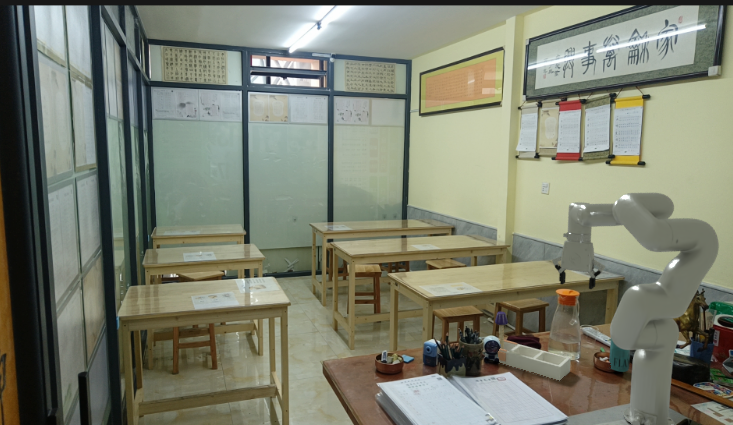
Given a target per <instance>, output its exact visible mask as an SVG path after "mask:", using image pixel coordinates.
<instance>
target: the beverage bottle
mask: <svg viewBox="0 0 733 425" xmlns="http://www.w3.org/2000/svg"><path fill="white" fill-rule="evenodd" d="M608 356H609V360H608V361H609V362H610V363H611V364H610V365H611V368H610V369H611V370H613V371H616V372H621V373H624V372H628V371H629V369H630V364H631V360H630V359H631V350H624V349H621V348H619V347H618V346H616V345H615V344H614V342H613V341H612V338H611V337H610V348H609V355H608ZM609 362H608V363H609Z"/></svg>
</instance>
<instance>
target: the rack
mask: <svg viewBox="0 0 733 425" xmlns="http://www.w3.org/2000/svg"><path fill="white" fill-rule="evenodd" d="M498 357H499V362H500V363H503V364H502V365H504V364H506V365H505V366H507V365H509V366H508V367H510V366H512V367H511V368H514V367H516V368H515V369H517V368H520V369H519V370H521V369H523V370H522V371H524V370H526V371H525V372H527V371H529V372H528V373H531V372H534V373H537V374H540V375H539V376H541V375H543V376H542V377H544V376H546V377H545V378H547V377H549V378H548V379H551V378H553V379H552V380H554V379H556V380H555V381H557V380H559V381H558V382H561V381H562V380H563V379H564V378H565V377H566V376H567V375H568V374H569V373H570V372H571V361H572V360H571V357H568V356H565V355H561V354H556V353H553V352H549V351H545V350H541V349H538V348H535V347H530V346H527V345H522V344H519V343H517V342H514V341H510V340H507V339H504V349H501V348H500V349H499V351H498ZM500 363H499V364H500ZM534 373H533V374H534ZM537 374H536V375H537ZM564 376H565V377H564ZM563 377H564V378H563ZM562 378H563V379H562ZM561 379H562V380H561ZM560 380H561V381H560Z"/></svg>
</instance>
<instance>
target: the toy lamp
mask: <svg viewBox="0 0 733 425" xmlns="http://www.w3.org/2000/svg"><path fill="white" fill-rule="evenodd" d="M494 323H495V324H496V325H498V327H499V328H498V334H499V336H498V339H499V341H500V344H501V349H504V340H505V336H504V335H505V332H504V331H505V326H506V325H508V324H509V321H508V316H507V313H506V312H504V311H498V312H497V313H496V316H495V320H494Z"/></svg>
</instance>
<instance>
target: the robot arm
mask: <svg viewBox="0 0 733 425" xmlns="http://www.w3.org/2000/svg"><path fill="white" fill-rule="evenodd" d="M674 211H675V205H674V202H673V200H672V199H671V198H670V197H669V196H668V195H665V194H663V193H661V192H629V193H625V194H623V195H622V196H620V197H618V199H617V200H615V202H614V203H590V202H584V201H583V202H582V201H581V202H580V201H578V202H570V204H569V206H568V217H567V218H568V219H567V232H565V233H563V235H562V236H563V238H566V240H564V242H563V247H562V252H561V256H558V257H556V258H554V259H552V264H553V265H554V268H555V269H556V271H558V275H559V276H558V281H559V282H560V283H559V284H560V285H565V283H566V279H567V278H566V276H567V273H566V271H567V270H569V271H573V272H581V273H587V274H588V275H589V276H590V277H589V280H588V290H592V289H594V288H595V287H596V279H597V277H598V276H599V275H601V274H602V272H603V271H604V270H605V268H606V266H605V265H604V264H602V263H601V262H599V261H597V260H596V259H595V248H594V244H593V242H592V227H593V228H594V227H595V228H596V227H618V226H624V228H625V229H626V230H627V231H628V232H629V233H630V234H631V235H632V237H633V238H634V239H635V240H636V241H637V242H638V243H639V244H640V245H641V246H642V247H643V248H644V249H646V250H647V251H650V252H655V253H669V252H670V253H671V252H679V253H678V254H677V255H676V256H675V257H673V259H671V260H670V261H669V262H668V263H667V264H666V266H664V269H663V271H662V274H661V275H660V277H659V278H658V280H657V281H654V282H652V283H639V284H635V285H633V286H632V285H631V286H630V287H628V288H627V289H626V290H625V292H624V293H623V295H622V297H621V299H620V302H619V304H618V306H617V308H616V310H615V313H614V314H613V315H614V316H613V317H612V320H611V323H610V327H609V331H610V332H609V335H610V339H611V338H612V341H613V342H614V344H615V345H616V346H618V347H619V348H621V349H624V350H630V351H634V354H633V356H632V357H633V359H632V368H631V381H630V382H631V383H630V397H629V398H630V399H629V400H630V401H629V407H626V408H625V409H624V410H623V414H622V415H624V417H625V419H627V420H628V421H630V422H631V423H632V424H633V425H671V424H674V423H675V422H674V420H673V419H672V418H671V417H670V416H669V414H670V413H669V412H670V400H671V399H670V398H671V388H672V387H671V386H672V385H671V384H672V374H673V363H674V357H675V351H676V348H677V346H678V342H679V336H680V329H679V325H678V324H677V322H676V320H674V319H677V318H680V317H682V316H683V315H684V314H685V313H686V311H687V310H688V308H689V306H690V304H691V303H692V300H693V299H694V297H695V295H696V293H697V292H698V289H699V287H700V286H701V284H702V281H703V280H704V278H705V277H706V275H707V274H708V273H709V271H710V270H711V268H712V267H713V265H714V263H715V262H716V259H717V256H718V255H719V254H718V253H719V247H720V245H719V239H718V235H717V233H716V231H715V229H714V228H713V226H712V225H711V224H710V223H708V222H707V221H704V220H702V219H697V218H692V217H691V218H687V217H686V218H685V217H683V218H677V217H676V218H670V217H672V215H673V213H674ZM559 262H560V264H559ZM595 266H596V267H597V268H598V270H596V271H595V270H594V268H595ZM624 417H623V418H624ZM625 419H624V420H625Z"/></svg>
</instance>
